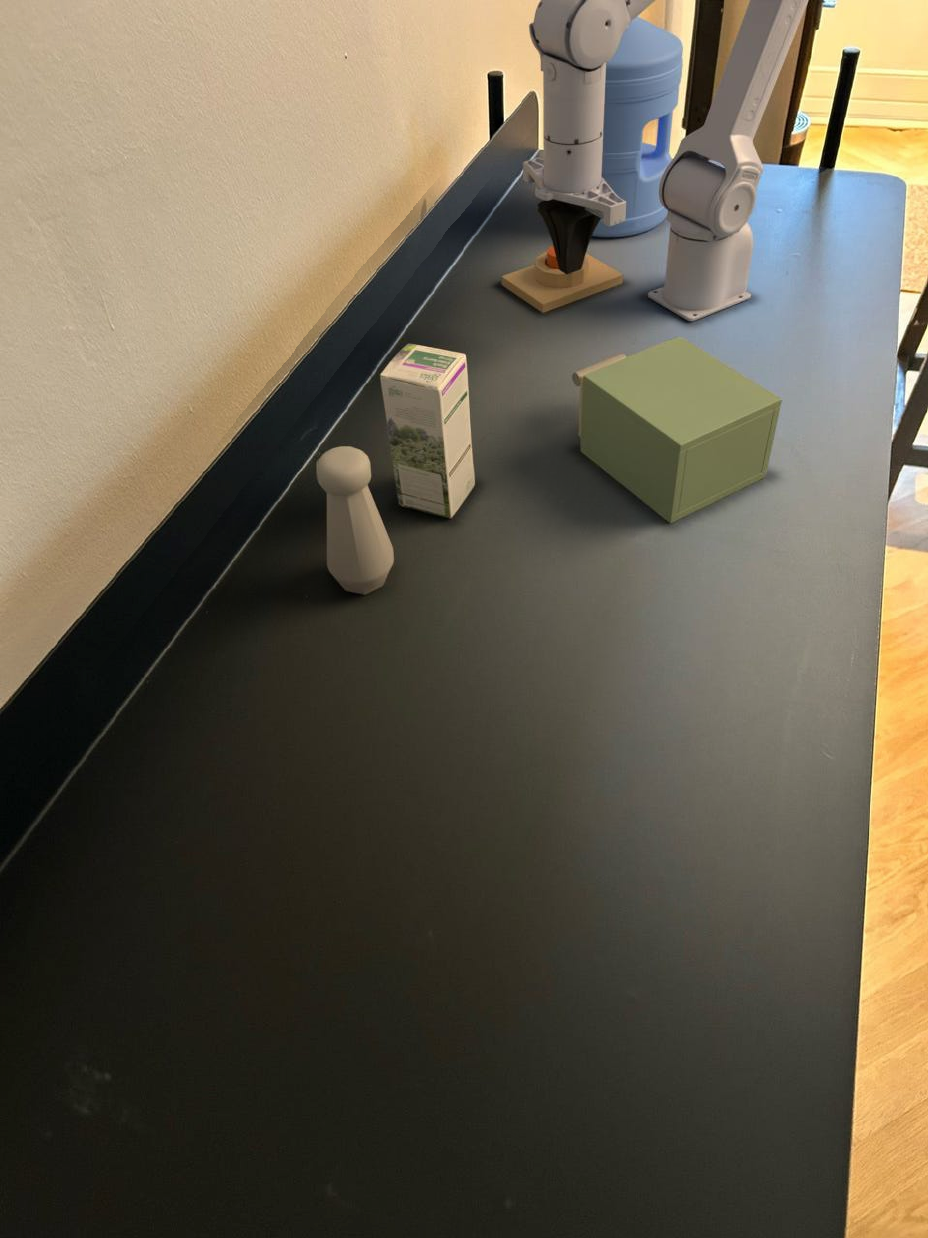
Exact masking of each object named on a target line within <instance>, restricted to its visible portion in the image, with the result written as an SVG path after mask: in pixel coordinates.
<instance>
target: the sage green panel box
mask: <svg viewBox="0 0 928 1238" xmlns="http://www.w3.org/2000/svg"><path fill="white" fill-rule="evenodd" d="M663 342H664V343H663ZM663 342H661V343H658V344H659V345H658V344H656V345H657V346H656V345H653V346H654V347H653V346H651V347H652V348H651V347H649V349H648V348H646V349H647V350H646V349H644V351H643V350H641V351H642V352H641V351H638V352H639V353H638V352H636V353H637V354H636V353H634V355H633V354H631V355H632V356H631V355H628V356H626V357H627V358H625V359H622V360H620V361H617V362H615V363H612V364H610V365H607V366H605V367H602V368H600V369H598V370H595V371H593V372H590V373H588V374H585V375H583V390H582V418H581V437H580V452H581V453H582V454H583V455H585V456H586V457H587V458H588V459H590V460H591V461H592V462H593V463H595V465H597V466H598V467H600V468H601V469H602V470H603V471H604V472H606V473H607V474H608V475H610V476H611V477H612V478H613V479H614V480H616V481H617V482H618V483H620V484H621V486H622V487H624V488H625V489H627V490H628V491H630V492H631V493H632V495H634V496H635V497H637V498H638V499H639V500H641V501H642V502H643V503H644V504H645V505H646V506H648V507H649V508H651V509H652V510H653V511H654V512H656V514H658V515H659V516H660V517H662V518H663V519H664V520H666V521H667V522H668V523H669V524H673V523H675V522H676V521H679V520H681V519H683V518H685V517H687V516H689V515H691V514H693V513H696V512H697V511H699V510H701V509H703V508H706V507H707V506H709V505H711V504H714V503H717V502H718V501H719V500H722V499H724V498H726V497H728V496H730V495H732V494H734V493H736V492H738V491H740V490H742V489H744V488H747V487H748V486H750V485H752V484H754V483H756V482H758V481H760V480H762V479H764V478H766V477H767V473H768V468H769V464H770V463H769V462H770V459H771V454H772V448H773V444H774V441H775V434H776V430H777V425H778V420H779V415H780V411H781V406H782V402H783V399H782V397H780V396H779V395H777V394H775V393H773V392H772V391H770V390H768V389H767V388H765V387H764V386H762V385H760V384H759V383H758V382H755V380H752V379H750V378H749V377H747V375H746V376H745V375H744V374H743V373H741V372H739V371H737V370H736V369H734V368H733V367H731V366H729V365H728V364H726V363H725V362H723V361H721V360H719V359H718V358H716V357H715V356H713V355H712V354H710V353H709V352H707V351H705V350H703V349H702V348H700V347H699V346H697V345H695V344H693V343H692V342H691V341H689V340H687V339H686V338H684V337H682V336H680V335H679V336H677V337H674V338H671V339H669V340H667V341H663Z"/></svg>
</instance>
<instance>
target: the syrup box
mask: <svg viewBox="0 0 928 1238" xmlns="http://www.w3.org/2000/svg"><path fill="white" fill-rule="evenodd" d="M468 375H469V374H468V362H467V355H466V354H465V353H462V352H456V351H451V350H446V349H441V348H435V347H430V346H425V345H420V344H414V343H410V342H409V343H407V344H406V345H405V346H404V347H402V349H400V350H399V351H398V353H396V355H395V356H394V357H393V358H392V359H391V360H390V361H389V362H388V364H387V365H386V367H385V368H384V369H383V370H382V371H381V373H380V374H379V376H380V377H379V379H380V386H381V392H382V399H383V405H384V411H385V412H384V413H385V419H386V425H387V426H386V427H387V433H388V440H389V441H388V442H389V446H390V455H391V460H392V466H393V474H394V481H395V487H396V495H397V501H398V506H399V507H403V508H407V509H412V510H415V511H419V512H422V513H427V514H431V515H435V516H438V517H442V518H445V519H446V518H447V519H452V518H453V517H454V516H455V515H456V513H457V512H458V511H459V509H460V508H461V506H462V505H463V503H464V502H465V501H466V499H467V498H468V496H469V495H470V494H471V492H472V490H473V489H474V488H475V485H476V477H475V476H476V475H475V467H474V458H473V457H474V456H473V446H472V445H473V444H472V443H473V442H472V430H471V412H470V410H471V409H470V395H469V394H470V392H469V376H468Z"/></svg>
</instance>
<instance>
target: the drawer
mask: <svg viewBox="0 0 928 1238" xmlns="http://www.w3.org/2000/svg"><path fill="white" fill-rule="evenodd" d="M664 342H665V341H663V342H662V343H664ZM659 344H660V343H658V344H656V345H653V346H651V347H649V348H652V347H654V346H657V345H659ZM649 348H646V349H644V350H647V349H649ZM644 350H641V351H638V352H636V353H634V354H637V353H639V352H642V351H644ZM634 354H631V355H630V356H632V355H634ZM627 357H628V356H626V354H624V353H619V354H616V355H614V356H611V357H609V358H606V359H604V360H602V361H599V362H597V363H594V364H591V365H589V366H586V367H584V368H582V369H578V370H577V371H574V372H573V373H572V374H571V379H572V382H573V384H574V385H575V386H576V387H579V409H578V433H577V435H578V437H579V438H581V418H582V390H583V375H585V374H588V373H590V372H593V371H595V370H598V369H600V368H602V367H605V366H607V365H610V364H612V363H615V362H617V361H620V360H622V359H625V358H627Z"/></svg>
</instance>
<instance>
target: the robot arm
mask: <svg viewBox="0 0 928 1238" xmlns="http://www.w3.org/2000/svg"><path fill="white" fill-rule="evenodd" d="M654 2H656V0H540V1H539V2H538V4H537V7H536V8H535V12H534V18H533V22H531V23H529V25H528V31H529V36H530V40H531V42H532V45H533V46H534V48H535V49H536V51H537V52H538V54H539V58H540V71H541V72H542V77H543V78H542V92H543V93H542V99H543V101H542V102H543V103H542V104H543V106H542V107H543V110H542V112H543V113H542V119H543V121H542V122H543V123H542V126H543V127H542V130H543V131H542V132H543V133H542V134H543V135H542V137H543V140H542V141H543V142H542V143H543V145H542V146H543V147H542V148H543V158H541V157H534V158H531V159H528V160H525V161H523V162H522V181H523V182H524V183H526V184H532V183H534V184H536V186H537V187H535V189H534V193H535V194H534V196H535V197H536V198H538V199H540V200H542V201H540V202H538V204H537V211H538V213H539V214H540V217H541V218H542V220H543V222H544V223H545V226H546V229H547V231H548V233H549V236H550V239H551V242H552V246H554V250H555V255H556V259H557V263H558V267H559V270H560V271H562V272H563V273H565V274H570V273H573V272H575V271H578V270H581V269H582V265H583V262H584V258H585V255H586V253H587V251H588V247H589V245H590V242H591V239H592V237H593V236H592V234H593V232H594V230H595V228H596V226H597V225H598V223H599V221H600V219H601V218H602V219H603V223H604V224H605V225H607V226H609V227H610V226H613V225H616V224H619V223H621V222H624V221H625V215H626V201H624V200H623V199H621V198H620V197H618V196H617V195H616V194H615V192H614V191H613V190H612V189H611V187H610V186H609V185H608V184H607V183H606V181H605V180H604V179H603V178H602V177H601V175H602V150H603V125H604V101H605V76H606V62H607V61H609V60H610V59H611V58H612V57H613V55H614V54H615V52H616V50H617V48H618V45H619V43H620V40H621V37H622V35H623V33H624V32H625V31H626V30H627V29H628V25H629V24H630V22H631V21H633V20H634V19H635V18H636V17H637V16H638V17H639V16H640V15H641V14H642V13H643V12H645V10H646V9H648V8H649V7H650V6H651V5H652V4H653V3H654ZM808 3H809V0H749V2H748V4H747V7H746V10H745V13H744V16H743V18H742V21H741V24H740V27H739V29H738V31H737V33H736V34H737V35H736V38H735V40H734V42H733V45H732V48H731V51H730V54H729V56H728V59H727V62H726V64H725V67H724V70H723V72H722V75H721V77H720V81H719V84H718V85H717V88H716V92H715V94H714V96H713V99H712V101H711V104H710V108H709V111H708V113H707V116H706V117H705V118H706V119H705V121H704V124H703V125H702V126H701V127H699V128H698V129H696V130H695V131H692V132H691V133H689V134H688V135H686V136H684V137H683V138H682V139H680V143H679V146H678V149H677V151H676V153H675V155H674V157H673V158H672V161H671V162H670V164H669V165H668V166H667V168H666V169H665V171H664V173H663V175H662V178H661V181H660V185H659V199H660V202H661V204H662V206H663V207H664V208H665V209H667V210H668V213H667V216H666V221H667V222H669V225H670V226H669V234H668V235H669V236H668V244H667V245H668V246H667V255H666V265H665V276H664V285H663V286H661V287H659V288H656V289H653V290H651V291H649V292H647V297H648V298H649V299H650V300H652V301H654V302H655V303H657V304H659V305H661V306H662V307H664V308H665V309H667V310H669V311H671V312H673V313H674V314H676V315H678V316H679V317H680V318H683V319H684V320H686V321H687V322H695V321H697V320H700V319H702V318H705V317H707V316H710V315H712V314H714V313H718V312H719V311H720V312H721V311H723V310H725V309H728V308H730V307H732V306H735V305H737V304H740V303H742V302H744V301H747V300H749V299H751V296H752V294H751V293H750V292H748V291H747V289H748V281H749V276H750V270H751V263H752V257H753V253H754V252H753V251H754V234H753V231H752V228H751V226H750V224H749V222H748V221H749V219H750V218H751V216H752V214H753V211H754V208H755V206H756V201H757V194H758V186H759V183H760V180H761V177H762V174H763V173H764V167H763V164H762V161H761V159H760V157H759V154H758V151H757V149H756V148H755V145H754V139H755V136H756V134H757V131H758V129H759V126H760V123H761V121H762V119H763V116H764V113H765V112H766V109H767V106H768V104H769V101H770V98H771V96H772V93H773V92H774V88H775V86H776V84H777V80H778V79H779V75H780V73H781V71H782V68H783V66H784V63H785V61H786V58H787V56H788V53H789V51H790V48H791V45H792V44H793V41H794V38H795V36H796V34H797V31H798V27H799V26H800V24H801V22H802V21H801V20H802V18H803V16H804V14H805V11H806V8H807V6H808ZM710 160H712V161H714V162H717V163H719V164H720V165H718V164H716V163H713V162H711V161H710Z"/></svg>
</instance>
